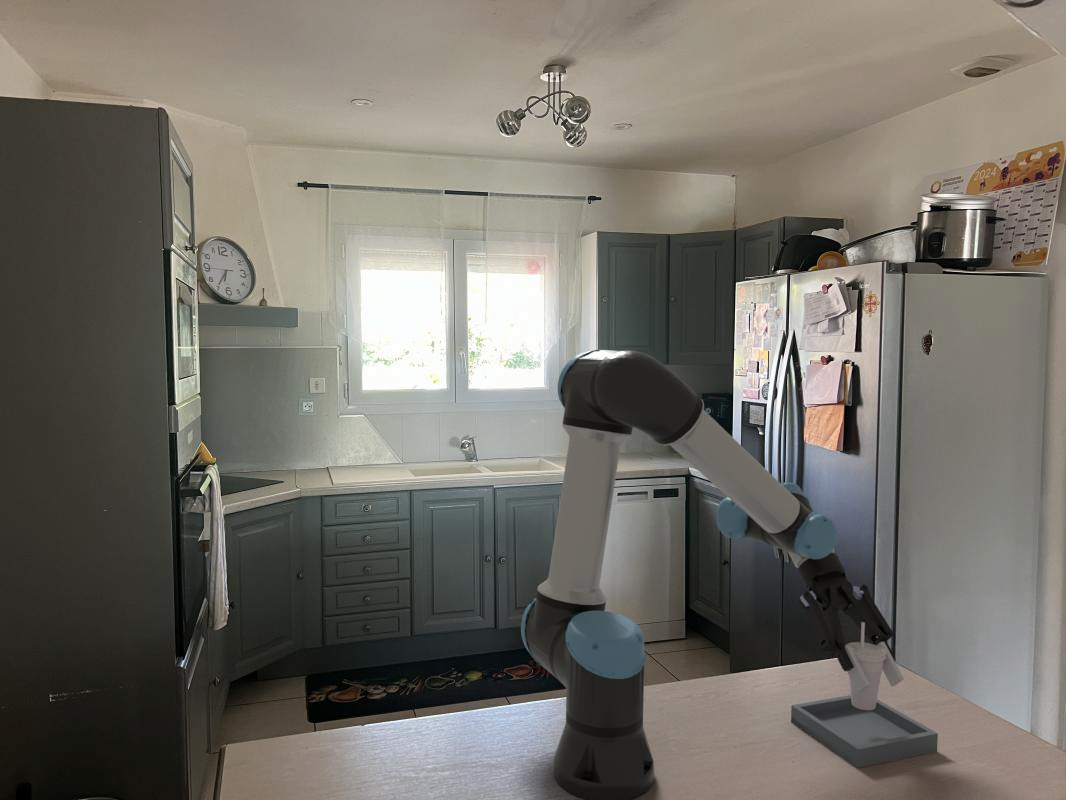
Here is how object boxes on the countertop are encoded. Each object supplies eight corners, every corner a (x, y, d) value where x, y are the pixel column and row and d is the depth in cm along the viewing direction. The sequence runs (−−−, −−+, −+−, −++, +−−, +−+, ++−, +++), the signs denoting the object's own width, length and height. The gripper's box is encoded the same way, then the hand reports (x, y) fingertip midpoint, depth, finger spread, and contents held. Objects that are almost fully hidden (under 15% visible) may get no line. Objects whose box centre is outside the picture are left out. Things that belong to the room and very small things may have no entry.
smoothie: (855, 693, 137) (857, 614, 136) (891, 706, 132) (894, 624, 131) (835, 703, 133) (838, 622, 132) (872, 717, 128) (875, 633, 127)
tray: (857, 768, 122) (858, 749, 122) (791, 722, 137) (791, 705, 137) (937, 751, 127) (937, 733, 127) (864, 708, 143) (865, 692, 142)
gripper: (848, 567, 149) (913, 686, 134) (762, 576, 142) (820, 703, 128) (870, 545, 143) (940, 668, 129) (781, 554, 137) (845, 684, 123)
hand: (880, 685), depth 128 cm, fingers closed on smoothie, 6 cm apart
